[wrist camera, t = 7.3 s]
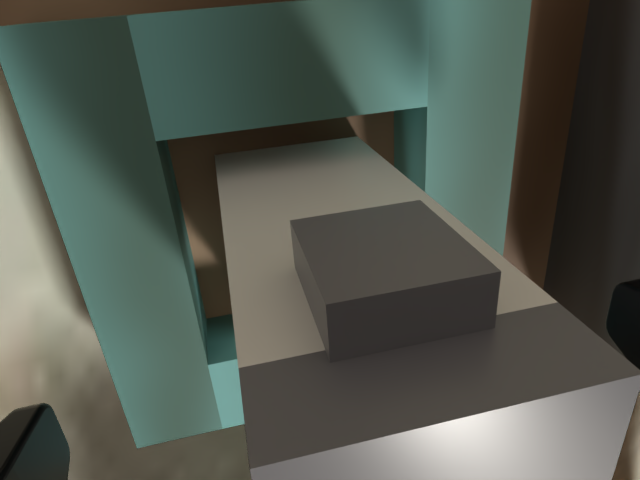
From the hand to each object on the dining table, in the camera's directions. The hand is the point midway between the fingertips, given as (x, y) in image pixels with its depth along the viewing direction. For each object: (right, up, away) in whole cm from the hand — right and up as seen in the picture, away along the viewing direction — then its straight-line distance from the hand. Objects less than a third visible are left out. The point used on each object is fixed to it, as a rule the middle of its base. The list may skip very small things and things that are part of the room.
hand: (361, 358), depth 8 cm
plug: (-1, +3, +5) cm, 6 cm away
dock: (+5, +4, +7) cm, 10 cm away
